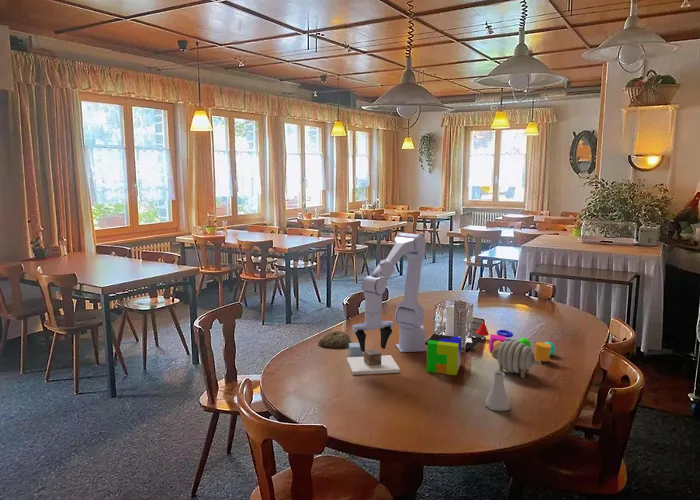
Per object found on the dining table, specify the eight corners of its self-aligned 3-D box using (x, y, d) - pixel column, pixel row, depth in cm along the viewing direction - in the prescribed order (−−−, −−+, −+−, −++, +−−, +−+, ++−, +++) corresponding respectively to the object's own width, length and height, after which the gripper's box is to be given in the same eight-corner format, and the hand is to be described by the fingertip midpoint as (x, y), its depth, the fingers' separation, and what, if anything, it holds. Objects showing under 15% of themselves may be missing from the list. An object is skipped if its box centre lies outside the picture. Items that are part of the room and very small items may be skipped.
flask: (481, 401, 156) (482, 369, 155) (504, 400, 157) (506, 368, 155) (489, 412, 149) (491, 379, 148) (514, 411, 150) (516, 378, 148)
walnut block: (375, 359, 185) (375, 348, 184) (381, 364, 181) (381, 353, 180) (363, 361, 183) (364, 350, 182) (369, 366, 179) (369, 354, 178)
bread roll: (347, 350, 198) (347, 337, 197) (315, 347, 201) (315, 335, 200) (354, 339, 211) (354, 327, 210) (324, 337, 213) (324, 325, 212)
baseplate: (390, 358, 190) (390, 355, 189) (399, 372, 177) (399, 369, 177) (346, 360, 187) (346, 357, 187) (352, 375, 174) (352, 371, 174)
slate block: (360, 352, 195) (360, 342, 194) (362, 357, 191) (362, 346, 190) (348, 353, 194) (348, 343, 194) (350, 357, 190) (350, 347, 189)
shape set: (561, 372, 182) (564, 352, 181) (458, 357, 188) (461, 338, 186) (544, 344, 211) (547, 326, 210) (456, 331, 216) (458, 314, 215)
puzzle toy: (460, 364, 184) (461, 337, 183) (456, 375, 175) (457, 346, 173) (431, 361, 188) (432, 334, 186) (426, 371, 178) (427, 343, 177)
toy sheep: (496, 363, 186) (497, 332, 184) (545, 374, 177) (547, 342, 175) (485, 372, 178) (486, 341, 176) (536, 385, 168) (538, 351, 166)
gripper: (387, 306, 185) (387, 343, 187) (349, 310, 180) (349, 348, 182) (396, 311, 179) (395, 349, 181) (356, 315, 173) (356, 355, 176)
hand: (372, 349), depth 181 cm, fingers open, 7 cm apart
